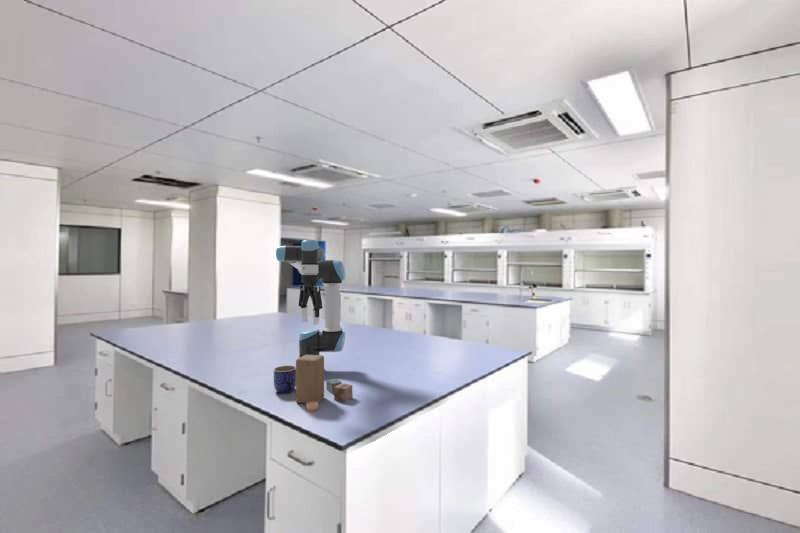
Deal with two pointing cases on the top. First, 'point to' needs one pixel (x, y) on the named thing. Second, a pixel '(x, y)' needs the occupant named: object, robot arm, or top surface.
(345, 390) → the walnut cube
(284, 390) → the planter
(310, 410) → the terracotta puck
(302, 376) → the wooden block
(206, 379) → the top surface
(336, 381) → the gray block
